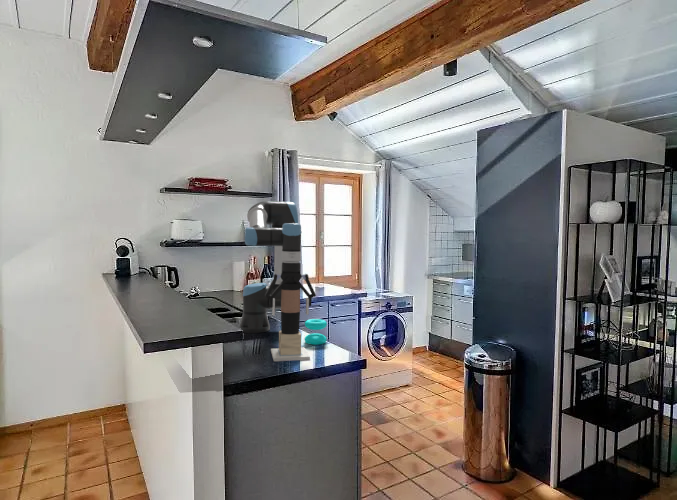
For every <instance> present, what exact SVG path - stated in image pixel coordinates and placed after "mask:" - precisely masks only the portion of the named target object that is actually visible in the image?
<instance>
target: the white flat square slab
mask: <svg viewBox="0 0 677 500" xmlns="http://www.w3.org/2000/svg"><path fill="white" fill-rule="evenodd" d="M270 352H271V357H272V360H273V362H286V361H287V362H289V361H310V360H311V356H310V354H309V353H308V351H307V349H306V348H305V347H303V346H301V354H298V355H281V354H280V352H279V347H278V348H270Z"/></svg>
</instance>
